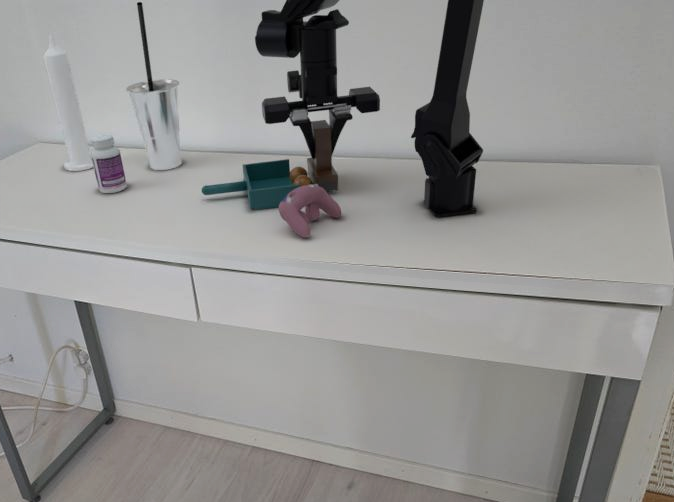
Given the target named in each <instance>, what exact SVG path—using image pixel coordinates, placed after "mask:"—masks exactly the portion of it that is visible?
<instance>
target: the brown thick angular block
mask: <svg viewBox="0 0 674 502" xmlns="http://www.w3.org/2000/svg"><path fill="white" fill-rule="evenodd" d="M310 121H311V120H310ZM311 125H312V133H313V141H314V148H315V159H312V157H306V163H307V164H306V165H307V175H308V177H309V178H310V179H311V182H312V185H314V184H318V186H319V187H322V188H323V189H324V190H325V191H326V192H331V191H338V190H339V186H338V185H339V183H338V182H339V173H338V172H337V171H336V169H335V167H334V166H333V159H332V158H333V154H332V153H331V127H330V126H329V123H328V121H327V120H326V119H320V120H313V121H311Z"/></svg>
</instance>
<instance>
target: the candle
mask: <svg viewBox="0 0 674 502" xmlns="http://www.w3.org/2000/svg"><path fill="white" fill-rule="evenodd" d="M48 39H49V40H48V44H49V45H48V48H47V49H46V51H45V53H43V55H42V56H43V61H44V65H45V69H46V73H47V77H48V81H49V85H50V89H51V93H52V98H53V102H54V105H55V109H56V114H57V117H58V121H59V125H60V129H61V133H62V137H63V141H64V145H65V149H66V154H67V157H68V161H65V162H64V164H63V166H64V167H63V168H64V170H66V171H69V172H80V171H81V172H82V171H86V170H90V169H92V168H93V169H94V167H93V163H92V158H91V150H90V146H89V142H88V138H87V133H86V128H85V125H84V120H83V116H82V112H81V108H80V103H79V99H78V94H77V90H76V86H75V82H74V76H73V72H72V69H71V64H70V60H69V56H68V55H69V54H68V53H67V51H66V50H64V49H62V48H61V47H60V46H58V44H57V43H56V41H55V39H54V37H53V35H52V34H49V35H48Z"/></svg>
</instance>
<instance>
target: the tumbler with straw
mask: <svg viewBox="0 0 674 502" xmlns="http://www.w3.org/2000/svg"><path fill="white" fill-rule="evenodd" d="M136 7H137V13H138V20H139V22H138V23H139V30H140V36H141V42H142V50H143V57H144V58H143V59H144V64H145V72H146V79H147V80H145V81H144V80H143V81H140V82H136V83H132V84H130V85H128V86H127V87H126V89H125V90H126V92H128V93H129V97H130V100H131V103H132V107H133V110H134V114H135V117H136V121H137V126H138V128H139V131H140V135H141V137H142V141H143V145H144V149H145V152H146V156H147V160H148V163H149V168H150V169H151V170H155V171H168V170H172V169H176V168H178V167H180V166H181V165H182V163H183V161H182V148H181V137H180V136H181V135H180V130H181V129H180V113H179V94H178V86H179V85H180V81H178V80H177V79H171V78H168V79H167V78H163V79H162V78H161V79H159V78H158V79H153V75H152V67H151V60H150V51H149V43H148V37H147V29H146V21H145V13H144V6H143V2H141V1H138V2H136Z"/></svg>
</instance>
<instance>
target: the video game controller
mask: <svg viewBox="0 0 674 502" xmlns="http://www.w3.org/2000/svg"><path fill="white" fill-rule="evenodd" d="M302 209H304V211H303V210H302ZM321 210H322V211H323V212H324V213H326V214H327V215H328V216H330V217H332V218H335V219H339V218H340V217H341V216H342V208H341V207H340V205H339V203H338V202H337V201H336V200H335V199H334V198H333V197H332V196H330V194H329V193H328V191H325V190H324V189H323V188H322V187H319V186H318V184H314V185H313V184H312V185H304V186H301V187H298V188H296V189H294V190H293V191H291V192H290V193H289V194H288V195H287V196H286V197H285V198H284V199H283V201H281V203H280V204H279V207H278V213H279V216H280V218H281V219H282V220H283V221H284V222H286V224H287V225H288V226H289V228H290V229H291V230H292V231H293V232H294V233H296V234H297V235H299V237H302V238H304V239H307V238H309V237H310V236H311V228H310V226H309V221H310V222H314V221H317V220H319V219H320V216H321V212H320V211H321Z"/></svg>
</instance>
